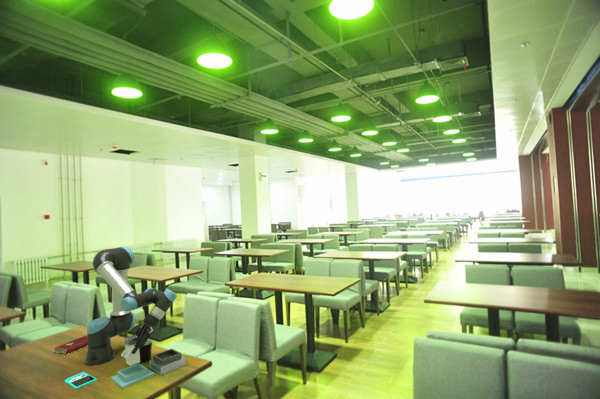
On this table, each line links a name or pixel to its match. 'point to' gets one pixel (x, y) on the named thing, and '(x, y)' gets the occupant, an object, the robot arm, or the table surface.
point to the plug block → (129, 345)
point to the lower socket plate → (132, 375)
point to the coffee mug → (145, 352)
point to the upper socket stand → (167, 361)
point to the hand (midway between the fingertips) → (125, 358)
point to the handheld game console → (80, 380)
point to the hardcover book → (72, 345)
